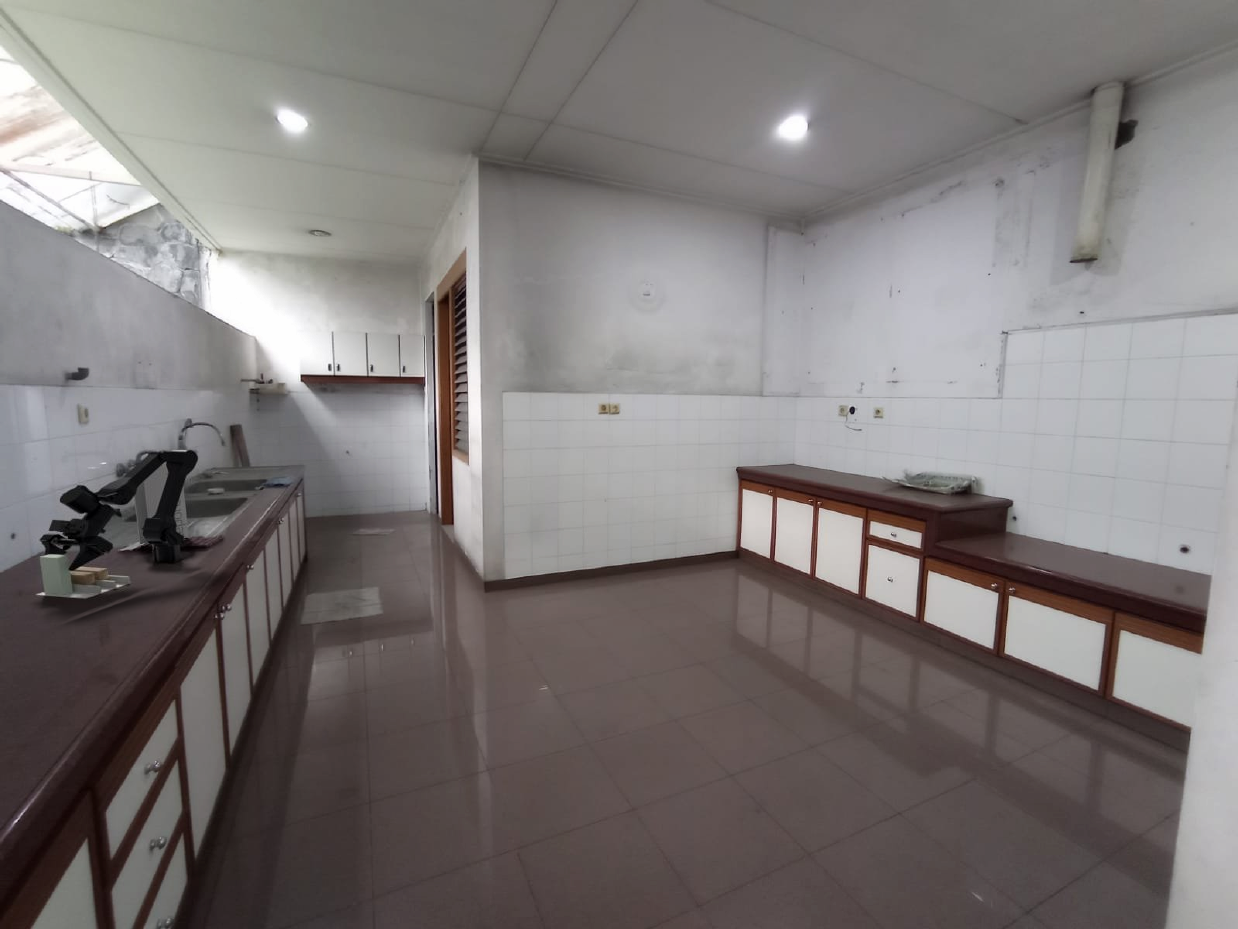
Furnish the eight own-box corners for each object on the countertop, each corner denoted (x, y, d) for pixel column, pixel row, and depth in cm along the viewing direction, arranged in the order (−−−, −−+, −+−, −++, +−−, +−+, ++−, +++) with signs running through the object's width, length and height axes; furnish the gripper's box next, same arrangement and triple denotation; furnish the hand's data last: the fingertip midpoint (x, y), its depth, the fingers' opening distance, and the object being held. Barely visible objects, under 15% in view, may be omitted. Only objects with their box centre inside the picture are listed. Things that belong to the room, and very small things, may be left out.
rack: (85, 582, 169) (83, 573, 169) (131, 585, 167) (130, 576, 166) (36, 598, 157) (34, 587, 156) (85, 601, 154) (84, 591, 154)
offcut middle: (66, 585, 164) (64, 570, 163) (95, 587, 162) (93, 572, 162) (57, 588, 161) (55, 573, 161) (86, 590, 160) (84, 575, 159)
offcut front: (80, 581, 168) (78, 566, 167) (109, 583, 166) (107, 568, 165) (71, 583, 165) (69, 569, 164) (100, 586, 164) (98, 571, 163)
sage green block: (55, 591, 159) (49, 554, 158) (72, 592, 158) (67, 555, 157) (44, 594, 157) (39, 556, 155) (62, 595, 156) (57, 558, 154)
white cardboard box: (151, 548, 204) (142, 467, 200) (139, 547, 205) (130, 467, 201) (188, 538, 218) (181, 462, 214) (177, 537, 219) (169, 462, 215)
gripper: (42, 506, 161) (0, 554, 152) (97, 509, 158) (58, 558, 149) (75, 526, 170) (38, 572, 160) (128, 529, 167) (93, 576, 158)
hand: (56, 569), depth 157 cm, fingers open, 9 cm apart
